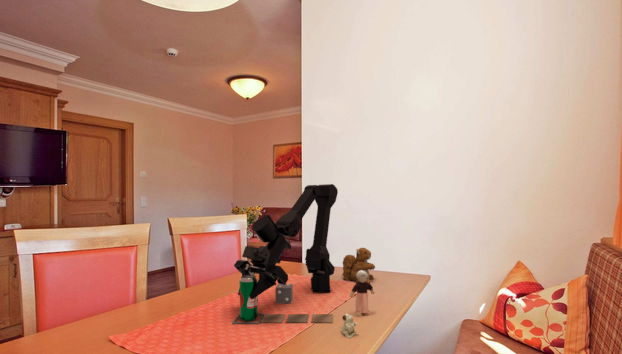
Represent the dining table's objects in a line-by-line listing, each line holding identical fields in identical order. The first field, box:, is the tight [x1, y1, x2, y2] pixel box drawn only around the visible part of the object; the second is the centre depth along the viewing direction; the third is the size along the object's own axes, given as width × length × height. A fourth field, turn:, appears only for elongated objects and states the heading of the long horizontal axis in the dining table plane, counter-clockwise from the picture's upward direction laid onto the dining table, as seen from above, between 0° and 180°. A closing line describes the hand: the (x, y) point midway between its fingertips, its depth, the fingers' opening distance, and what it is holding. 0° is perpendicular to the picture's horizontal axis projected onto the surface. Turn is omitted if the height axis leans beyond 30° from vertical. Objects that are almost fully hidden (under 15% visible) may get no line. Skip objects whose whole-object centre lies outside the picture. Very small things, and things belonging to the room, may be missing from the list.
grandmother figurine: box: [349, 270, 375, 317], centre depth 98 cm, size 8×4×13 cm, turn 117°
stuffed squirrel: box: [341, 247, 376, 285], centre depth 137 cm, size 10×14×13 cm
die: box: [275, 283, 294, 305], centre depth 111 cm, size 5×5×5 cm
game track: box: [231, 312, 334, 325], centre depth 95 cm, size 28×8×1 cm, turn 87°
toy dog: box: [339, 313, 359, 339], centre depth 84 cm, size 4×5×5 cm
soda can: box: [239, 274, 259, 322], centre depth 96 cm, size 5×5×12 cm
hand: (245, 296), depth 95 cm, fingers closed on soda can, 5 cm apart
